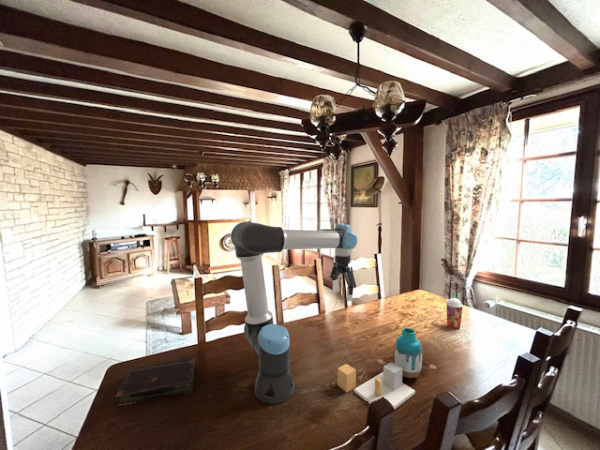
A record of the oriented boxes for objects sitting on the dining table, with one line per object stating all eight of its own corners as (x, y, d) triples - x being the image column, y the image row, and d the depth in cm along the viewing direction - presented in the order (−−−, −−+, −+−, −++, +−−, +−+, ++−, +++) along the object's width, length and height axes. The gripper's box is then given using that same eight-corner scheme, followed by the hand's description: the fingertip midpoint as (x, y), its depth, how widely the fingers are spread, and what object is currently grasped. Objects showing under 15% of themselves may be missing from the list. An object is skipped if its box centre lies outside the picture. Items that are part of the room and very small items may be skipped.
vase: (419, 386, 101) (421, 339, 100) (391, 377, 107) (392, 332, 106) (423, 372, 110) (424, 328, 109) (397, 364, 116) (398, 322, 115)
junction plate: (385, 416, 87) (385, 392, 87) (354, 392, 98) (354, 371, 98) (415, 393, 98) (415, 372, 97) (383, 374, 109) (384, 355, 108)
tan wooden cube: (346, 392, 98) (346, 374, 98) (337, 385, 102) (337, 368, 102) (355, 387, 101) (356, 370, 101) (346, 380, 105) (346, 363, 105)
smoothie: (462, 325, 153) (463, 292, 152) (461, 331, 146) (463, 297, 145) (445, 322, 158) (447, 290, 156) (445, 327, 151) (446, 294, 149)
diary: (132, 377, 108) (131, 366, 108) (196, 366, 116) (195, 355, 115) (114, 410, 90) (114, 396, 90) (191, 394, 98) (191, 382, 98)
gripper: (364, 258, 120) (363, 303, 122) (336, 250, 143) (335, 288, 144) (350, 260, 117) (349, 305, 119) (324, 251, 140) (323, 290, 141)
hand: (341, 296), depth 131 cm, fingers open, 13 cm apart
